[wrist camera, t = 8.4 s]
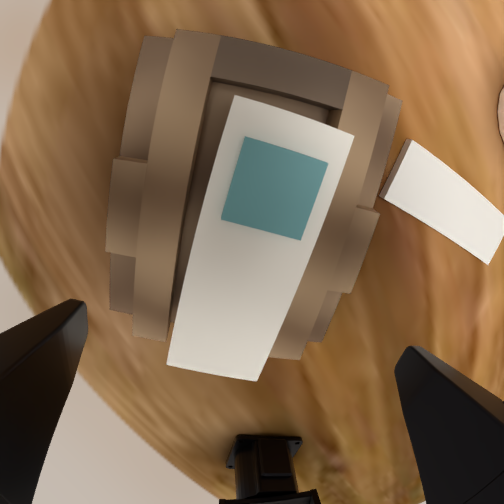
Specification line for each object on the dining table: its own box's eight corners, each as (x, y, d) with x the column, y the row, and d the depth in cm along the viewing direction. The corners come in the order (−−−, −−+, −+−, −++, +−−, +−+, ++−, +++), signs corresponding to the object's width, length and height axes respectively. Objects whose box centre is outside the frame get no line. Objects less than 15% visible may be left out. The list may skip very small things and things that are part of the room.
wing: (479, 258, 21) (488, 265, 20) (375, 194, 18) (383, 198, 17) (500, 216, 20) (510, 221, 19) (402, 137, 17) (412, 139, 16)
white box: (249, 323, 20) (257, 387, 15) (177, 307, 19) (165, 370, 14) (317, 129, 15) (358, 136, 10) (232, 102, 14) (235, 93, 10)
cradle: (317, 333, 22) (329, 362, 19) (114, 301, 19) (100, 328, 17) (393, 100, 16) (421, 100, 13) (149, 39, 13) (134, 26, 11)
